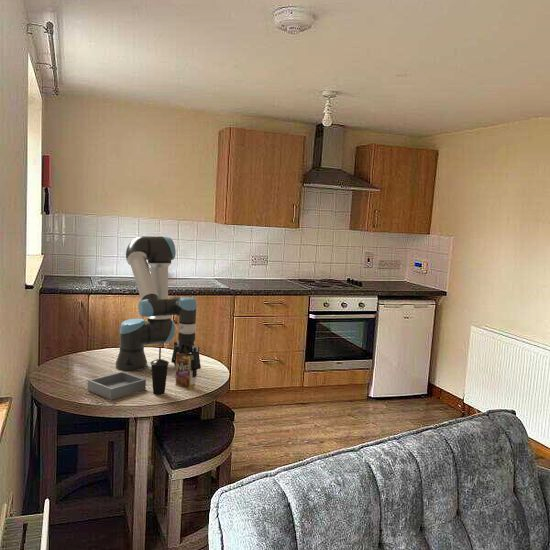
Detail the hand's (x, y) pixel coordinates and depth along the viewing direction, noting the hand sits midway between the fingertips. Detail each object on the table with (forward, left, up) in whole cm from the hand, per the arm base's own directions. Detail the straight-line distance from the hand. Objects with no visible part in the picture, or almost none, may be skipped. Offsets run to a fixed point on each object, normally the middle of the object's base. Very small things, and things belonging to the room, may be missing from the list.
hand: (185, 381), depth 241 cm
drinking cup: (-2, -14, -3) cm, 14 cm away
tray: (-17, -24, -2) cm, 30 cm away
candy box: (0, 0, -3) cm, 3 cm away
